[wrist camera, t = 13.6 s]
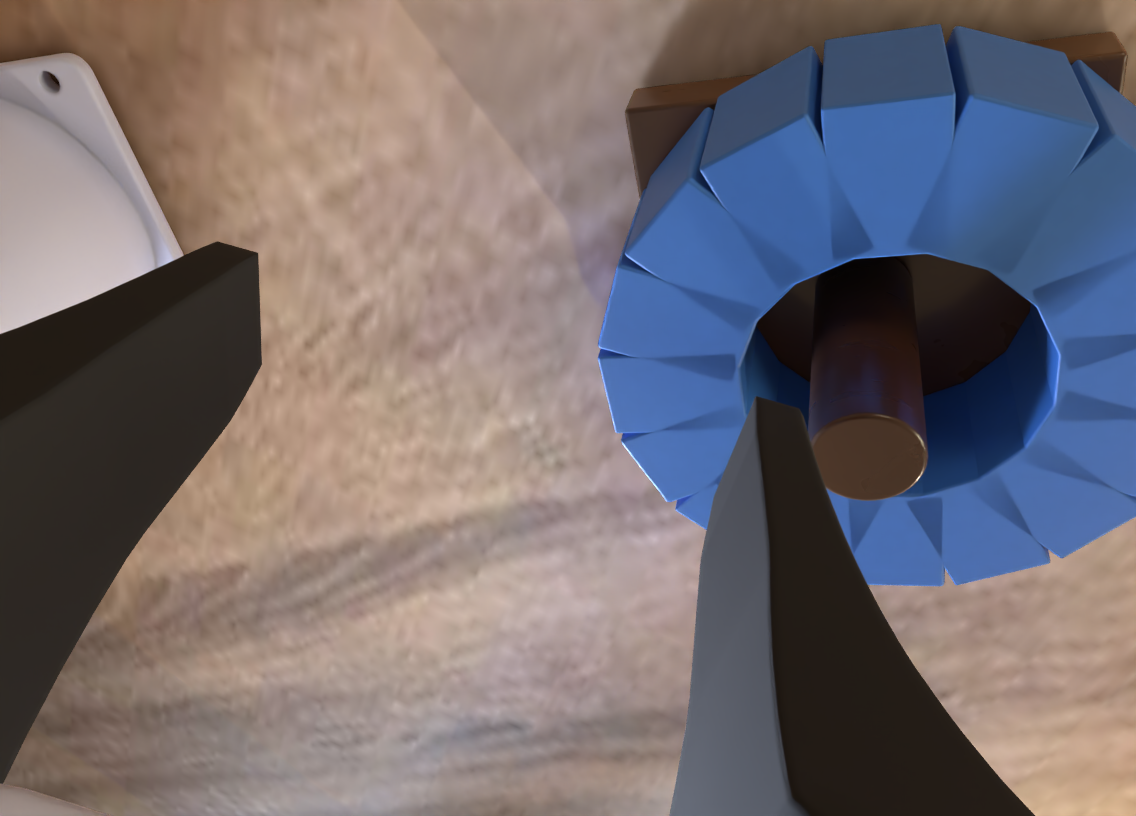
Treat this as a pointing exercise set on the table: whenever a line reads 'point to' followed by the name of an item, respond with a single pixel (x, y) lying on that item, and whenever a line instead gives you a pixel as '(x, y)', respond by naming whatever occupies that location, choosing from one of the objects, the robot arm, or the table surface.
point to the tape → (894, 228)
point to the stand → (871, 312)
